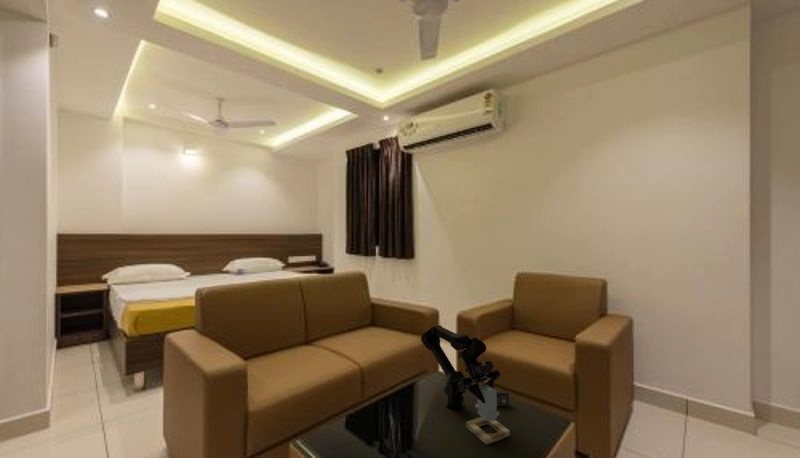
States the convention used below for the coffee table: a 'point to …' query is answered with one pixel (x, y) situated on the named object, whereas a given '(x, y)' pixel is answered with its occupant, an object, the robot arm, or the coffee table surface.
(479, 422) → the plate
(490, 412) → the servo
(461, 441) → the coffee table surface
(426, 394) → the coffee table surface
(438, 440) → the coffee table surface
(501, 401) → the mini dv tape
